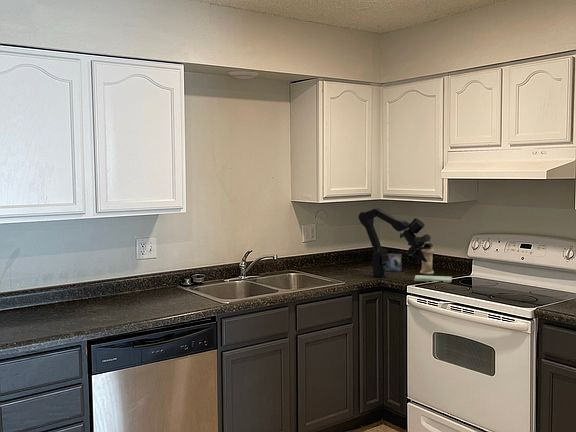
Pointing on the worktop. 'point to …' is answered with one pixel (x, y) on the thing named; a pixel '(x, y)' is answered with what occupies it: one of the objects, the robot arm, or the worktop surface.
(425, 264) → the tan turned knob
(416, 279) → the board
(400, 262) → the small box
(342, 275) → the worktop surface
